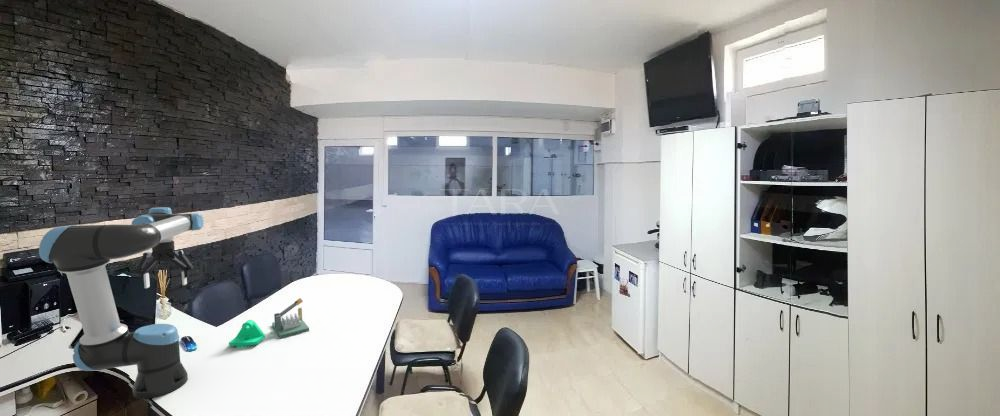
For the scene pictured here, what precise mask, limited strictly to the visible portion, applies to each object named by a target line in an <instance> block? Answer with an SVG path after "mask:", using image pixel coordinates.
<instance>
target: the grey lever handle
mask: <svg viewBox="0 0 1000 416" xmlns="http://www.w3.org/2000/svg"><path fill="white" fill-rule="evenodd" d="M302 303H303V299H302V298H301V297H299V298H298V299H297V300H295V301H294V302H292V304H290V305H289V306H288V307H286V308H284V309H283V310H282V311H281V312H278V313H279V314H278V315H276V316H279V315H281V317H282V316H283V317H284V315H287V313H289V312H290V311H291V310H292V309H294V308H296V306H297V307H298V306H299V305H300V304H302ZM276 316H275V317H276Z"/></svg>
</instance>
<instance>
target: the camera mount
mask: <svg viewBox="0 0 1000 416" xmlns="http://www.w3.org/2000/svg"><path fill="white" fill-rule="evenodd" d="M240 328H241V329H239V331H238V333H237V335H236V336H235V337H233V339H231V340H229V342H228V345H229V346H228V347H236V348H237V349H238V348H239V349H241V348H242V347H243V348H249V347H250V346H256V345H258V344H260V343H261V341H263V340H264V339H265V338H266V337H265V333H264V331H263V330H262V329H261V328H260V327H259V325H258V324H257V323H256V322H255V320H253V319H249V320H247V321H245V322H244V323H242V325H241V327H240ZM249 345H250V346H249ZM248 346H249V347H248Z"/></svg>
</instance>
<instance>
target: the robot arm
mask: <svg viewBox="0 0 1000 416" xmlns="http://www.w3.org/2000/svg"><path fill="white" fill-rule="evenodd" d="M203 227H204V217H203V216H202V214H200V213H191V212H190V213H173V212H172V209H171V207H167V206H166V207H165V206H164V207H163V206H162V207H159V206H158V207H151V208H149V209H148V213H147V214H142V215H139V216H136V217H135V218H133V220H132V222H131V224H88V225H85V224H84V225H75V224H71V225H64V226H56V227H53V228H51V229H50V230H48V231H47V232H46V233H45V234H44V235H43V236H42V239H40V242H39V247H38V254H39V257H40V259H41V260H42V261H44V262H45V263H49V264H55V267H56V270H57V272H59V273H63V274H65V275H66V277H67V279H68V284H69V287H70V291H71V294H72V297H73V300H74V303H75V307H76V310H77V313H78V318H79V320H80V321H79V322H80V323H81V327H82V330H83V335H82V336H81V337H80V338H79V341H77V343H76V344H75V345H74V348H73V350H72V352H73V354H72V360H73V362H74V365H75V367H77V368H78V369H79V370H82V371H84V372H85V371H86V372H89V371H91V372H92V371H102V370H107V369H113V368H114V369H115V368H121V367H129V366H136V367H137V375H136V378H135V381H134V384H133V387H132V396H133V397H134V398H135V399H140V400H141V399H143V400H145V399H152V398H157V397H160V396H163V395H166V394H167V395H168V394H169V393H171V392H173V391H176V390H178V389H179V388H181V387H183V386H184V385H185V384H186V383H187V382H188V379H189V377H188V376H189V375H188V371H187V370H186V369H185V366H184V365H183V363H182V361H181V353H180V352H181V351H180V340H179V339H180V335H179V333H178V328H177V327H176V326H175V325H173V324H171V323H170V324H169V323H154V324H152V323H151V324H150V325H144V326H141V327H138V328H137V329H135V331H133V332H130V331H129V328H128V325H126V324H124V323H121V322H120V317H119V313H118V310H117V307H116V302H115V297H114V295H113V291H112V287H111V284H110V283H111V282H110V279H109V275H108V272H107V268H106V267H107V264H108V263H110V262H111V260H117V259H122V258H126V257H130V256H131V257H132V256H133V255H137V254H141V253H142V258H141V260H140V262H139V264H138V266H137V267H136V269H135V270H134V273H135V274H140V280H141V282H143V284H144V286H143V287H144V289H148V288H150V287H151V286H150V285H151V284H150V283H151V281H150V280H151V279H150V273H149V272H148V271H149V270H150V269H151V268H152V267H153V266H154V265H155V264H156V263H157V262H159V263H161V262H169V261H170V262H172V263H173V264H174V265H176V267H178V268H179V269H180V270H182V271H181V281H182V286H186V285H187V284H188V280H187V279H188V278H189V276H190V273H189V272H190V270H192V269H194V267H195V266H194V265H193V264H192V262H191V261H190V260H189V259H188V257H187V256H186V254H185V251H184V250H183V249H181V250H175V241H174V240H175V238H174V237H175V236H178V235H181V234H182V233H185V232H189V231H192V232H193V231H200V230H201V229H202V228H203ZM148 250H152V252H149V251H148ZM145 251H146V252H145ZM143 252H144V253H143ZM175 255H177V256H178V257H179V258H180V260H179V258H177V257H176V256H175ZM151 256H152V260H151V261H150V262H149V263H148V264H147V261H148V259H149V258H150V257H151ZM146 264H147V265H146ZM145 265H146V266H145Z"/></svg>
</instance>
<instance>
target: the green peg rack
mask: <svg viewBox="0 0 1000 416" xmlns="http://www.w3.org/2000/svg"><path fill="white" fill-rule="evenodd" d="M279 313H280V312H276V313H273V315H274V316H273V317H274V322H272V323H271V326H272V327H273V329H274V331H275V332H276V334H277V336H278V337H279V339H282V338H287V337H291V336H296V335H297V334H301V333H305V332H308V331H309V332H310V327H309V326H308V325H307V323H306V322H305V321H304V320H303V308H302V307H301V306H299V307H297V313H296V312H294V313H293V314H292V313H290V314H289V315H288V314H285V317H284V315H283V316H281V315H279V316H276V315H278V314H279ZM275 316H276V317H275ZM289 316H290V317H289Z"/></svg>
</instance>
